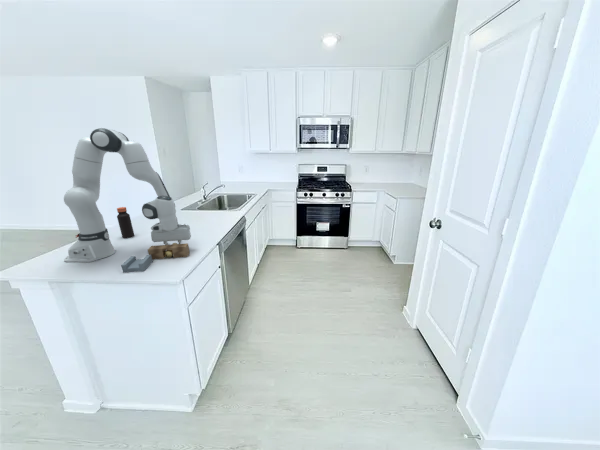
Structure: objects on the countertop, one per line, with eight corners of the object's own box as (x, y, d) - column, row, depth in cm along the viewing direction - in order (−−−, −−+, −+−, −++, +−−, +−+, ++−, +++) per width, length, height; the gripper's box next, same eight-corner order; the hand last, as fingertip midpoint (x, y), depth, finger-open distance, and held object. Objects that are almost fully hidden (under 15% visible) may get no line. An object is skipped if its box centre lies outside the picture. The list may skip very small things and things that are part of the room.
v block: (144, 270, 119) (142, 263, 118) (123, 272, 118) (121, 265, 117) (152, 261, 129) (151, 254, 128) (132, 263, 127) (131, 256, 126)
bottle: (119, 238, 162) (112, 208, 156) (129, 234, 168) (122, 206, 162) (127, 239, 160) (120, 209, 154) (136, 235, 166) (130, 207, 160)
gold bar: (173, 257, 133) (171, 250, 132) (165, 258, 132) (163, 251, 131) (179, 248, 144) (177, 242, 143) (172, 249, 144) (170, 243, 142)
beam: (149, 259, 131) (147, 249, 129) (153, 255, 135) (151, 245, 134) (187, 256, 134) (185, 246, 132) (189, 253, 138) (187, 243, 137)
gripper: (190, 222, 141) (194, 244, 145) (152, 224, 138) (157, 246, 142) (187, 225, 135) (191, 248, 140) (147, 227, 132) (152, 251, 136)
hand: (173, 247), depth 141 cm, fingers closed on gold bar, 4 cm apart
